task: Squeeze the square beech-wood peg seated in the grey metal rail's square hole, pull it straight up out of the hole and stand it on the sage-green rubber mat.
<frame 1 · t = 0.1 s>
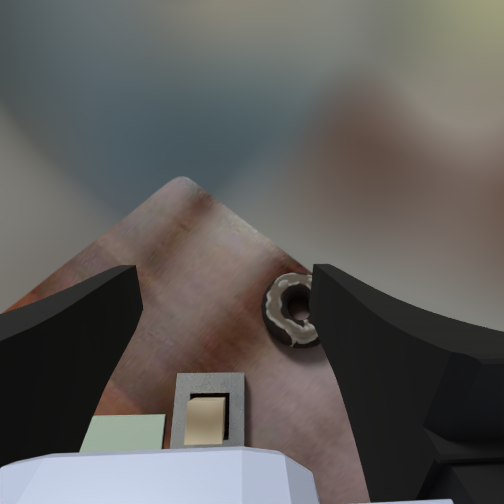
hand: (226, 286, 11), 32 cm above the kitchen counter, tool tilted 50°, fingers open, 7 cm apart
donut: (296, 311, 43), on the kitchen counter
rail: (208, 449, 35), on the kitchen counter
peg: (210, 413, 36), resting in rail
mat: (110, 471, 33), on the kitchen counter
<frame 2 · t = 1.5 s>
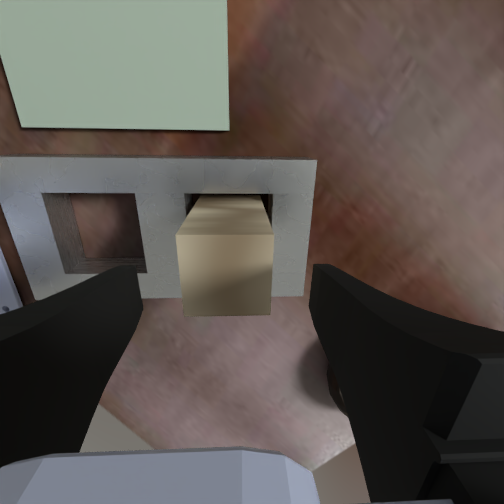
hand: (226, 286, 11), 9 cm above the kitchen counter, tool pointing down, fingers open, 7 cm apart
donut: (382, 354, 25), on the kitchen counter
rail: (173, 223, 19), on the kitchen counter
peg: (230, 223, 19), resting in rail
mat: (111, 2, 14), on the kitchen counter
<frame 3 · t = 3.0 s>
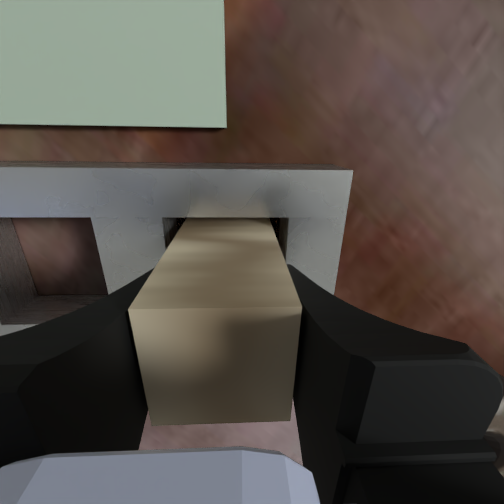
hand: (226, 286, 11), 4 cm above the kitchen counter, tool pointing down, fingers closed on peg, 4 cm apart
donut: (416, 404, 20), on the kitchen counter
rail: (153, 252, 14), on the kitchen counter
peg: (229, 251, 14), resting in rail, touching gripper
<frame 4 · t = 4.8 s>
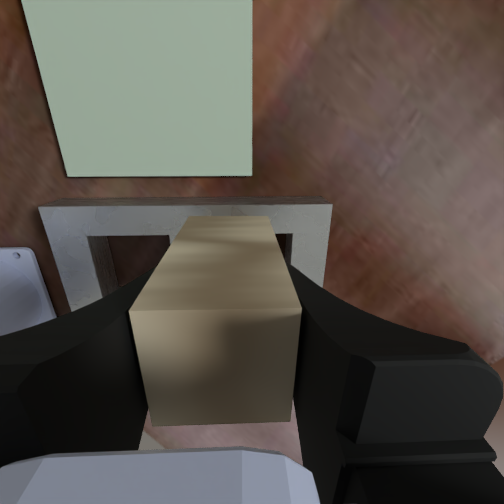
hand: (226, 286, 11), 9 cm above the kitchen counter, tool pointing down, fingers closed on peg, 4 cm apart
rail: (199, 255, 21), on the kitchen counter
peg: (229, 252, 14), point 6 cm above the kitchen counter, touching gripper
mat: (149, 69, 16), on the kitchen counter
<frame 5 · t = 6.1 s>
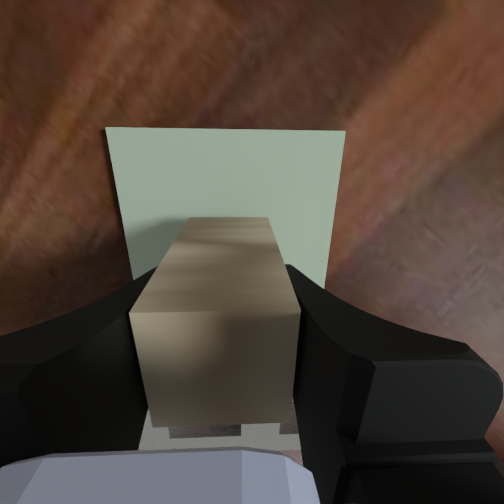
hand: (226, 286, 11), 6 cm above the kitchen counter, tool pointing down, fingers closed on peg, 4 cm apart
rail: (258, 381, 21), on the kitchen counter
peg: (229, 253, 14), point 2 cm above the kitchen counter, touching gripper
mat: (230, 238, 16), on the kitchen counter
when the fingers open (6 cm above the kitchen counter, at t = 6.9 s): peg drops 1 cm, resting on mat.
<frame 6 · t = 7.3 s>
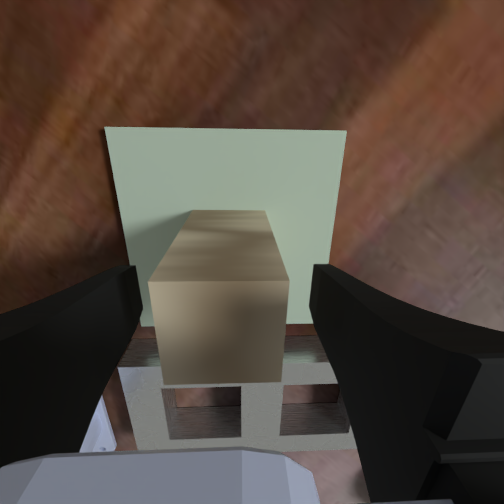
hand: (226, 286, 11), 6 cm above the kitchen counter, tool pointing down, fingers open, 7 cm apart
rail: (258, 382, 21), on the kitchen counter
peg: (229, 243, 16), resting on mat
mat: (230, 238, 16), on the kitchen counter
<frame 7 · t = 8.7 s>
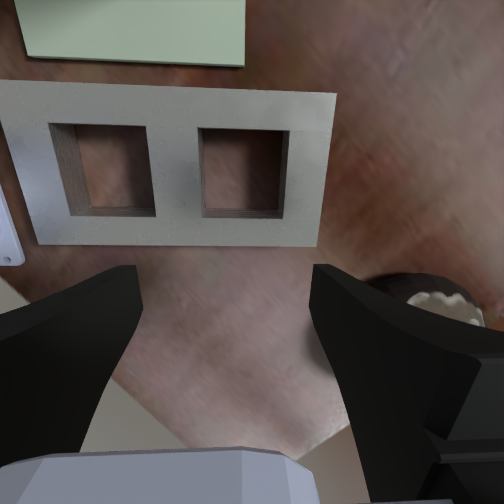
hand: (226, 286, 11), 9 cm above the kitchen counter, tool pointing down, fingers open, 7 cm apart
donut: (392, 321, 25), on the kitchen counter
rail: (183, 170, 18), on the kitchen counter
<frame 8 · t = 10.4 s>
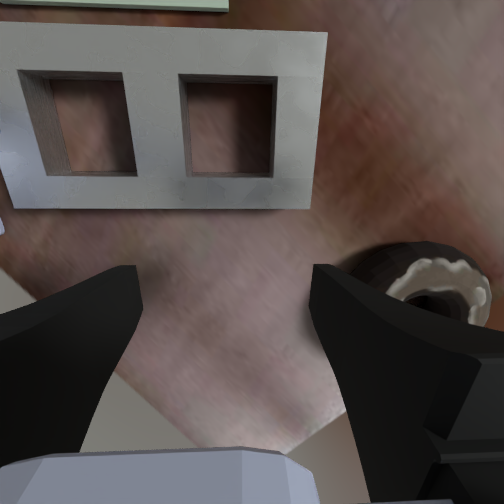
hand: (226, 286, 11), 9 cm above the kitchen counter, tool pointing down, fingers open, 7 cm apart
donut: (393, 296, 23), on the kitchen counter
rail: (167, 129, 17), on the kitchen counter
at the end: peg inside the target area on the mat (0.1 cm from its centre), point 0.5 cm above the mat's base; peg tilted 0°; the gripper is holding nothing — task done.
